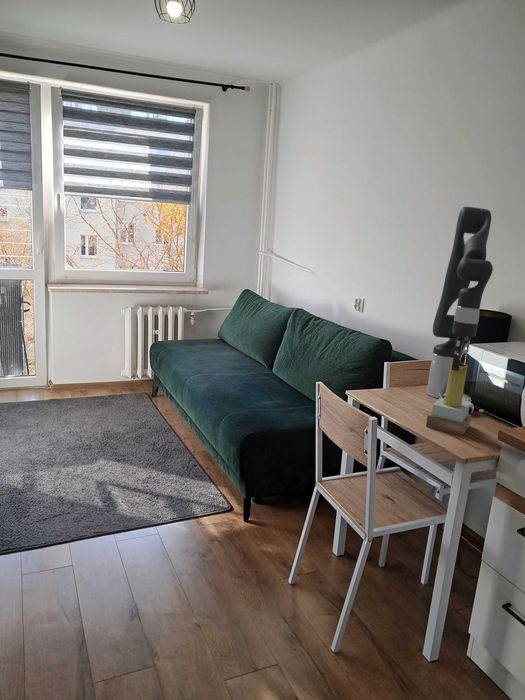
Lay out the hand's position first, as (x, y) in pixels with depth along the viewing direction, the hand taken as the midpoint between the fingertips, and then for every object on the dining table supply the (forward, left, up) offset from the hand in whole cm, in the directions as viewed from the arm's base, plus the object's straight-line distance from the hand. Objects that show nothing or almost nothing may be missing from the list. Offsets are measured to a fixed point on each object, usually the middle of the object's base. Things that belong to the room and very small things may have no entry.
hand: (457, 367), depth 186 cm
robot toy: (-23, -1, -21) cm, 32 cm away
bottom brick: (0, 0, -21) cm, 21 cm away
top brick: (0, 0, -17) cm, 17 cm away
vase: (0, 0, -13) cm, 13 cm away
